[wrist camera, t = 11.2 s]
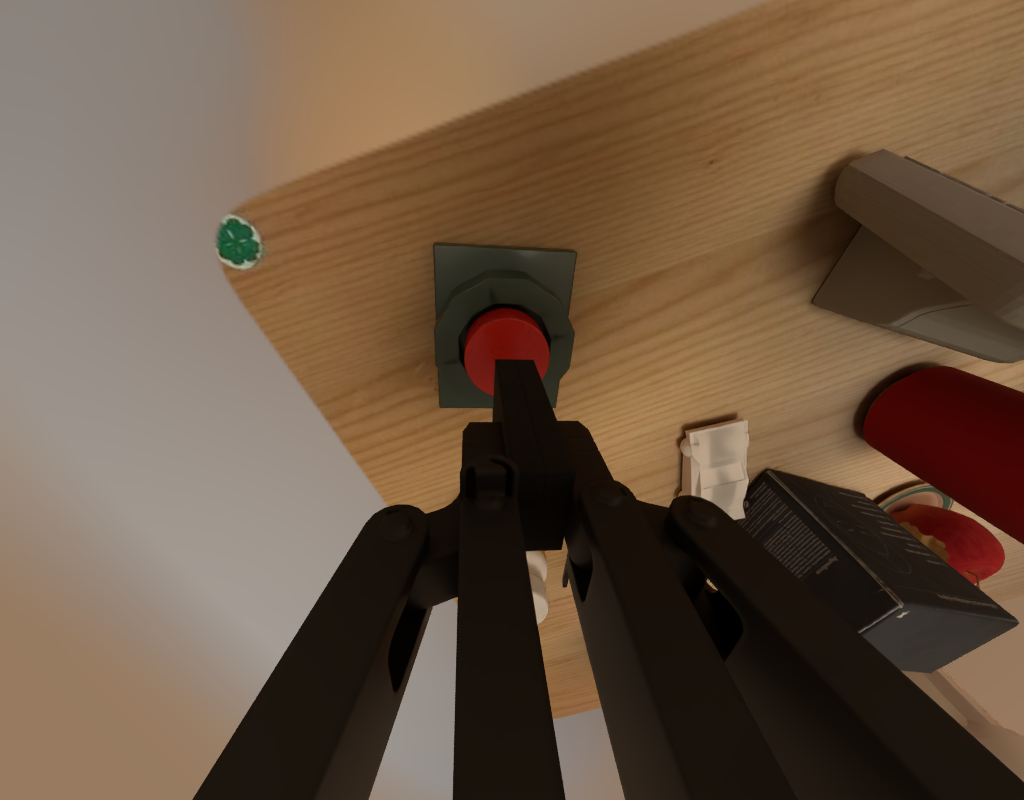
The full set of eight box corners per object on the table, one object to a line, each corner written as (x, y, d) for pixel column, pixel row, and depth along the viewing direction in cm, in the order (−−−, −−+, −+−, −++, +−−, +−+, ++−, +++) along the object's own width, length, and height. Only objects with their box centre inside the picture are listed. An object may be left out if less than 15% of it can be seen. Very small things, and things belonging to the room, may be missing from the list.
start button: (464, 306, 18) (464, 317, 16) (547, 308, 18) (554, 319, 16) (464, 381, 19) (464, 397, 18) (539, 382, 20) (545, 397, 18)
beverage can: (916, 442, 28) (1178, 590, 18) (835, 445, 27) (1058, 600, 17) (973, 359, 25) (1337, 482, 14) (883, 361, 24) (1196, 491, 14)
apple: (854, 556, 35) (928, 627, 29) (849, 506, 31) (933, 576, 25) (944, 521, 33) (1041, 588, 28) (950, 463, 30) (1063, 528, 24)
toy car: (674, 508, 29) (688, 531, 27) (676, 426, 25) (693, 446, 23) (732, 495, 29) (751, 517, 27) (744, 410, 25) (767, 429, 23)
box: (714, 526, 31) (816, 666, 22) (765, 466, 28) (907, 599, 19) (809, 545, 33) (935, 678, 24) (864, 492, 30) (1031, 620, 21)
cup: (757, 568, 34) (982, 866, 19) (875, 547, 34) (1191, 825, 19) (737, 634, 40) (898, 903, 25) (838, 615, 40) (1060, 871, 25)
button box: (434, 241, 18) (429, 249, 16) (574, 249, 19) (587, 257, 17) (440, 402, 22) (437, 425, 20) (553, 403, 23) (562, 424, 21)
